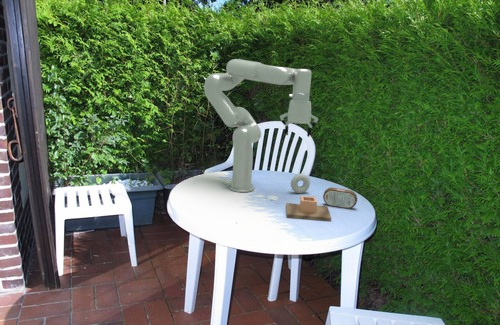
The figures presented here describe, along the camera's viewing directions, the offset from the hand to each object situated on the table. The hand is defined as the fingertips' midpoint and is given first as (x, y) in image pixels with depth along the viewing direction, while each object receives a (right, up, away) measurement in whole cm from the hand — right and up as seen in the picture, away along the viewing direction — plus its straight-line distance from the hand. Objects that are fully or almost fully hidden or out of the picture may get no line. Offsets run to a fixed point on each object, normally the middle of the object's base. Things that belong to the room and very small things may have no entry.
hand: (297, 135), depth 177 cm
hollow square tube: (+3, -32, -11) cm, 34 cm away
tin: (+19, -33, 0) cm, 38 cm away
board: (+3, -34, -11) cm, 36 cm away
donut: (+3, -28, +17) cm, 32 cm away
